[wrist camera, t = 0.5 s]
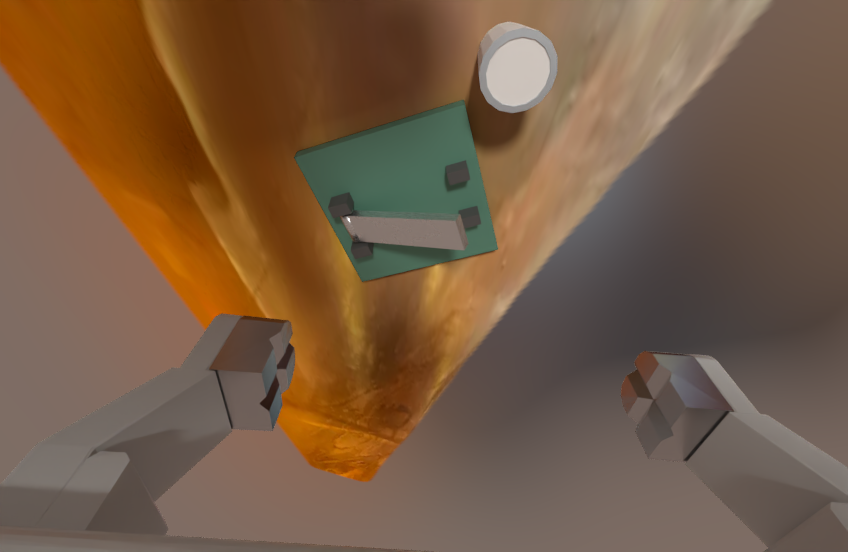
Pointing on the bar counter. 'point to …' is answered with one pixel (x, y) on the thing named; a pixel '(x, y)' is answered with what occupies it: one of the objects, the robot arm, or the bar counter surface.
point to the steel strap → (407, 228)
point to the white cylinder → (515, 67)
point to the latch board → (403, 185)
